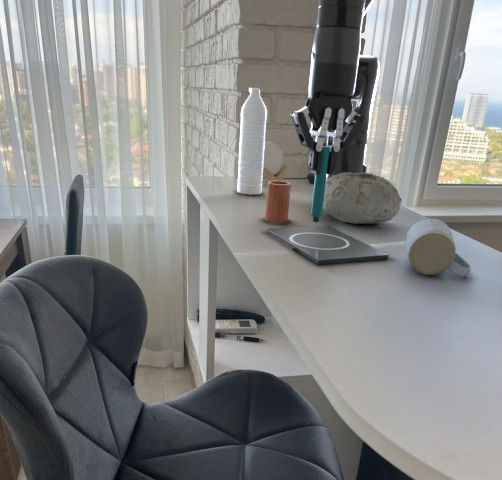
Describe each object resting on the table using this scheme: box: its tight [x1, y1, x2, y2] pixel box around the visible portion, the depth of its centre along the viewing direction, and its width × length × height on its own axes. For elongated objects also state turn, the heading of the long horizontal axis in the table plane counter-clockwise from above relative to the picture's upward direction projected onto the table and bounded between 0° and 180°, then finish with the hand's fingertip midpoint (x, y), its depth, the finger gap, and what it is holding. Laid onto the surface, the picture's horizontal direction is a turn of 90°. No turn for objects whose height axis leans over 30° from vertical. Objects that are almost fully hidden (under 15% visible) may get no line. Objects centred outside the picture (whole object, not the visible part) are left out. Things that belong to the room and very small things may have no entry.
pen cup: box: [264, 180, 292, 223], centre depth 105 cm, size 5×5×8 cm
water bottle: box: [236, 87, 268, 196], centre depth 129 cm, size 9×6×25 cm
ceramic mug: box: [404, 218, 472, 278], centre depth 81 cm, size 11×8×8 cm
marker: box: [310, 145, 330, 223], centre depth 90 cm, size 2×2×13 cm
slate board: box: [266, 225, 389, 266], centre depth 93 cm, size 14×20×1 cm
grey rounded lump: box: [322, 172, 403, 225], centre depth 109 cm, size 18×18×10 cm
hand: (321, 173), depth 89 cm, fingers closed on marker, 2 cm apart
